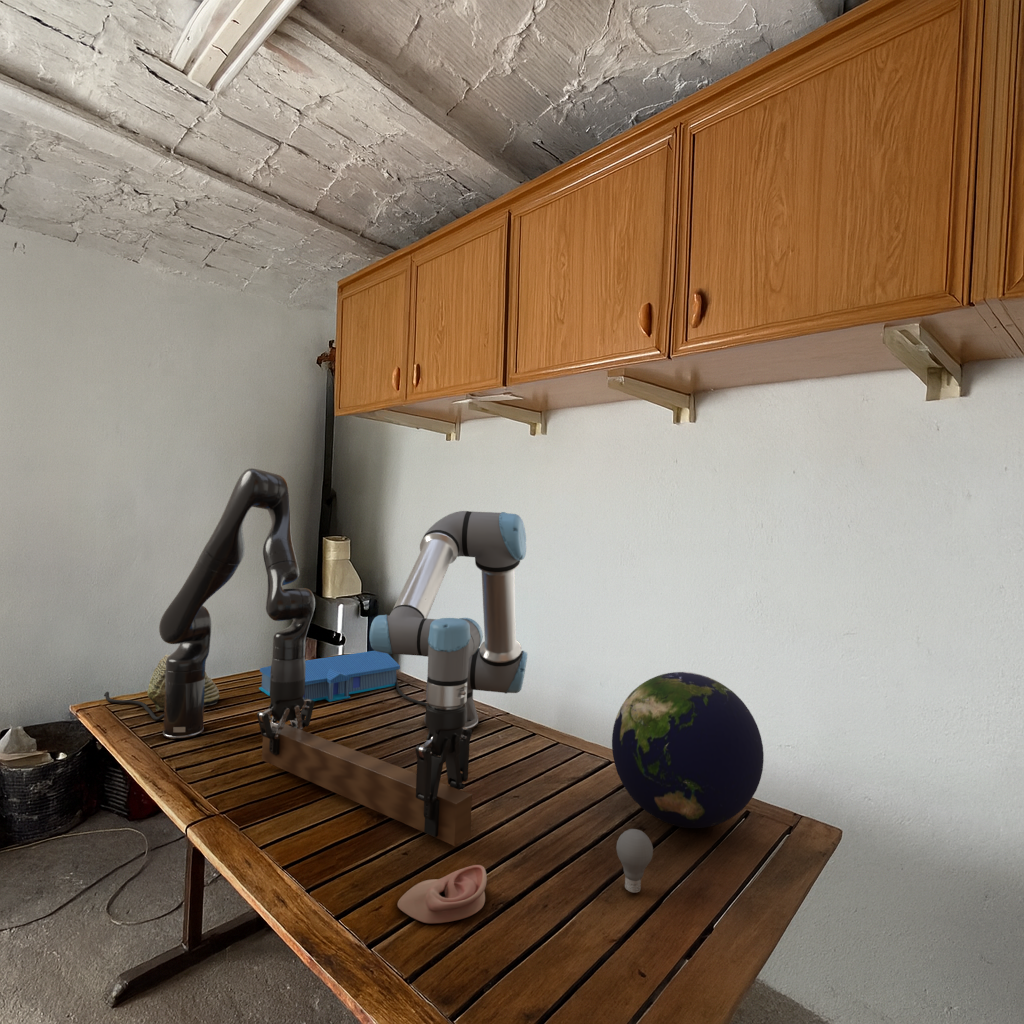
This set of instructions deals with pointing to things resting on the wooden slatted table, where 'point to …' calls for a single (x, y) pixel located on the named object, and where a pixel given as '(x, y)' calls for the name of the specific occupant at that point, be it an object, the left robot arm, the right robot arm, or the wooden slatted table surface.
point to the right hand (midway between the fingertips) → (440, 827)
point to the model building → (343, 675)
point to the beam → (369, 782)
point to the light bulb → (634, 857)
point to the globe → (687, 750)
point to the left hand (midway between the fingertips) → (285, 750)
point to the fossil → (158, 687)
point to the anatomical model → (446, 896)
